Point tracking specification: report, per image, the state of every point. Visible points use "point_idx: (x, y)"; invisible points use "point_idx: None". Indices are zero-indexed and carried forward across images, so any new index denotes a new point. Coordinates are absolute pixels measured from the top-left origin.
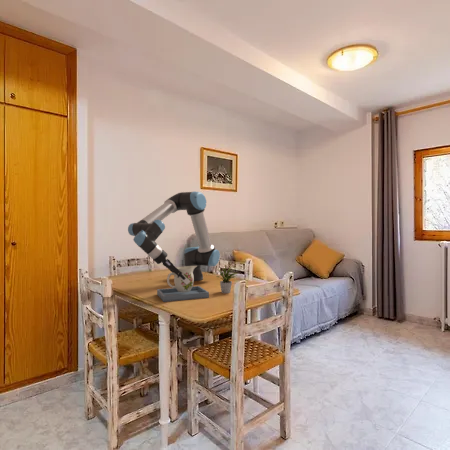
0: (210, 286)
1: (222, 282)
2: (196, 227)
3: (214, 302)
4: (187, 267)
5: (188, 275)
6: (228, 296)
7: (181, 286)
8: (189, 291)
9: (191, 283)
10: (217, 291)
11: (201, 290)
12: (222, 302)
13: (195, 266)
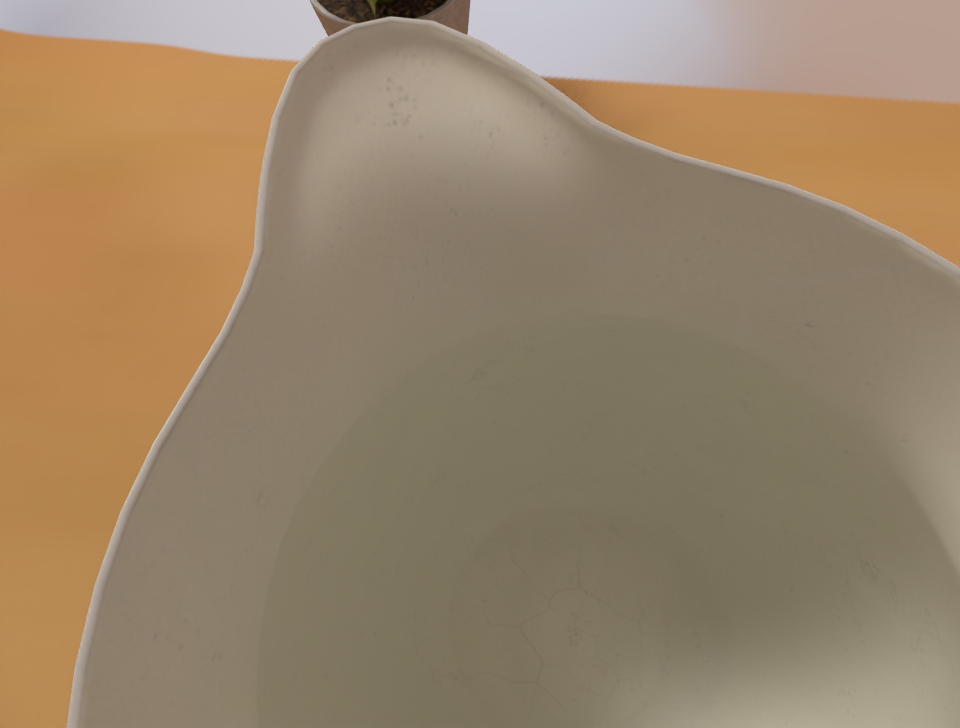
0: (37, 224)
1: (363, 14)
2: None
3: (909, 226)
4: (222, 445)
5: (876, 468)
6: (612, 85)
7: (790, 692)
8: (594, 513)
9: (703, 441)
10: None
11: None
12: (896, 152)
13: (336, 92)
